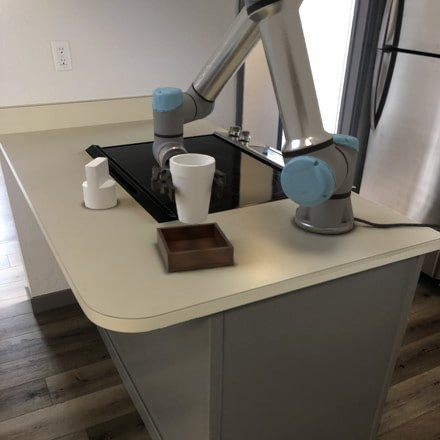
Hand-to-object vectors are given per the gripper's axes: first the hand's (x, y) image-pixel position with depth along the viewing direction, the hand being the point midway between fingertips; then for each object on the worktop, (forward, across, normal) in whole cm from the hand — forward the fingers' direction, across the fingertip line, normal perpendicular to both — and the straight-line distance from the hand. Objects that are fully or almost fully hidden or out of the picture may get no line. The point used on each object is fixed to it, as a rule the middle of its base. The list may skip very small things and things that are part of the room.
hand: (197, 193), depth 101 cm
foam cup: (-4, 0, -7) cm, 9 cm away
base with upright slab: (-43, +18, -16) cm, 49 cm away
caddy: (-4, 0, -16) cm, 17 cm away
